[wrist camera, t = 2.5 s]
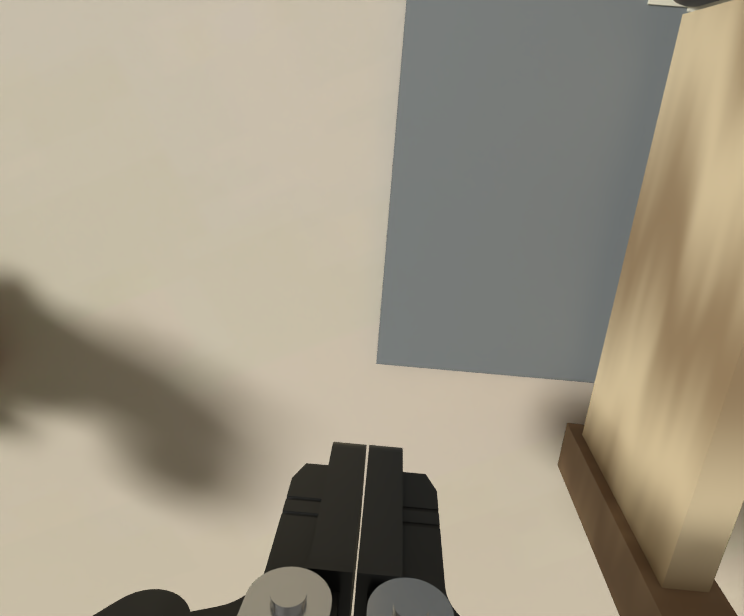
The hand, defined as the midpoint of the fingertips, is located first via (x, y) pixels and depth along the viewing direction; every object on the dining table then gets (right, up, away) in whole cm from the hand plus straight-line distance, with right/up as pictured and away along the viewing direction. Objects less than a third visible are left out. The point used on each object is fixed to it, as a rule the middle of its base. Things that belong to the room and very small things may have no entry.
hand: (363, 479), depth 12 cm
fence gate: (+8, +5, +4) cm, 10 cm away
